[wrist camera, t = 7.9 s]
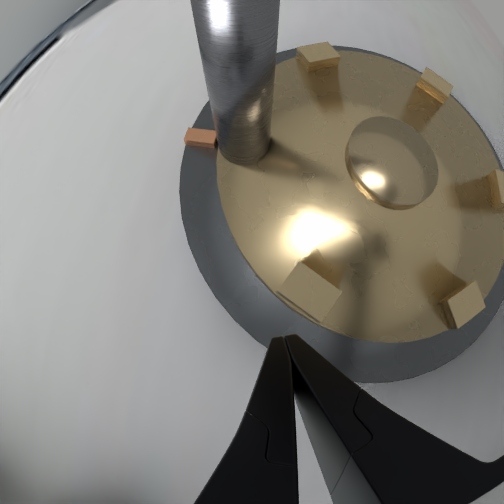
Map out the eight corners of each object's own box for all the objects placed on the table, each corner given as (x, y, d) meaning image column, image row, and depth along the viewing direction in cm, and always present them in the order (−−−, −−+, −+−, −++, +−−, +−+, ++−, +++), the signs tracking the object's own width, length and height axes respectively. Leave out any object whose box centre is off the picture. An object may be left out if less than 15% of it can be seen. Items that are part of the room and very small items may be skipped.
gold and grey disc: (539, 256, 19) (553, 251, 17) (303, 451, 17) (308, 464, 15) (386, 38, 24) (391, 24, 22) (134, 125, 22) (125, 110, 20)
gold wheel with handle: (471, 99, 21) (537, 13, 9) (500, 341, 16) (640, 331, 4) (243, 49, 22) (237, -85, 9) (194, 324, 17) (66, 322, 5)
